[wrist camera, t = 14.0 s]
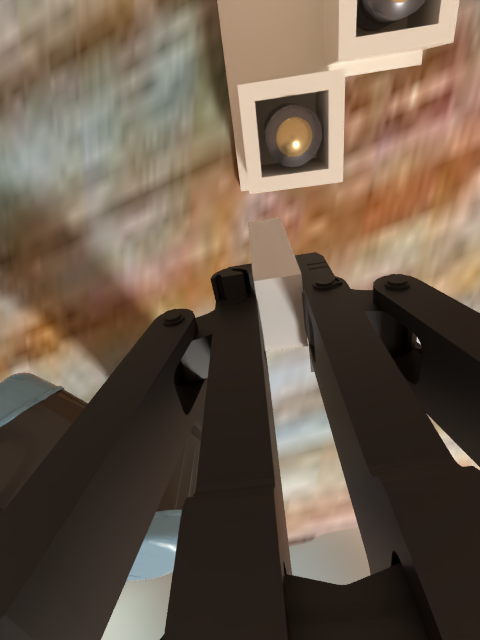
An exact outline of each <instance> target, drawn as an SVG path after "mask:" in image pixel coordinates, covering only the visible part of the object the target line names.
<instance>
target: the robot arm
mask: <svg viewBox="0 0 480 640" xmlns="http://www.w3.org/2000/svg"><path fill="white" fill-rule="evenodd" d="M248 227H249V239H250V251H251V262H252V264H246V265H240V266H234V267H229V268H227V269H223V270H221V271H219V272H217V273H215V274H214V275H213V276H212V277H211V283H212V287H213V291H214V295H215V300H216V306H215V310H214V311H212V312H210V313H208V314H206V315H203V316H200V317H197V318H195V315H194V313H193V311H191V310H188V309H173V310H171V311H170V310H169V311H167V312H165V313H164V314H162V315H160V316H159V317H157V318H156V319H155V320H154V321H153V323H152V324H151V325H150V326H149V328H148V329H147V330H146V332H145V333H144V334H143V335H142V337H141V338H140V339H139V340H138V342H137V343H136V344H135V345H134V347H133V348H132V349H131V350H130V352H129V353H128V354H127V355H126V357H125V358H124V359H123V360H122V362H121V363H120V364H119V365H118V367H117V368H116V369H115V371H114V372H113V373H112V374H111V376H110V377H109V378H108V379H107V381H106V382H105V383H104V384H103V386H102V387H101V388H100V389H99V391H98V392H97V393H96V394H95V396H94V397H93V398H92V399H91V401H90V402H89V403H86V402H84V401H83V400H81V399H79V398H77V397H76V396H74V395H72V394H70V393H69V392H67V391H65V390H64V388H63V387H62V386H56V385H54V384H52V383H50V382H48V381H45V380H43V379H41V378H39V377H37V376H35V375H33V374H30V373H18V374H14V375H12V376H10V377H8V378H6V379H5V380H4V381H2V382H1V383H0V640H101V638H102V636H103V633H104V631H105V629H106V626H107V624H108V622H109V619H110V617H111V615H112V612H113V610H114V608H115V605H116V603H117V600H118V599H119V596H120V594H121V592H122V589H123V587H124V585H125V582H126V581H137V580H146V579H152V578H157V577H160V576H164V575H167V574H169V573H172V572H173V576H172V583H171V591H170V597H169V605H168V612H167V619H166V627H165V634H164V635H163V636H162V638H161V639H160V640H480V470H478V469H477V468H475V467H474V466H467V467H462V466H460V465H459V464H457V462H456V461H455V460H454V458H453V457H452V455H451V454H450V452H449V450H448V449H447V447H446V445H445V444H444V442H443V440H442V439H441V437H440V435H439V434H438V432H437V431H436V429H435V427H434V426H433V424H432V422H431V421H430V419H429V417H428V416H427V414H428V415H429V416H430V417H431V418H432V419H433V420H434V421H435V422H436V423H437V424H438V425H439V426H440V427H441V429H442V430H443V431H444V432H445V433H446V434H447V435H448V436H449V437H450V438H451V439H452V440H453V441H454V442H455V443H456V444H457V445H458V446H459V447H460V448H461V449H462V450H463V451H464V452H465V453H466V454H467V455H468V456H469V457H470V458H471V459H472V460H473V461H474V462H475V463H476V464H477V465H478V466H479V467H480V313H478V312H476V311H475V310H473V309H471V308H469V307H467V306H466V305H464V304H462V303H460V302H458V301H456V300H455V299H453V298H451V297H449V296H447V295H446V294H444V293H442V292H440V291H438V290H437V289H435V288H433V287H431V286H429V285H428V284H426V283H424V282H422V281H420V280H418V279H417V278H414V277H411V276H406V275H403V274H397V275H396V274H391V275H388V276H383V277H381V278H378V279H377V280H376V281H375V282H374V284H373V290H354V289H350V288H349V286H348V284H347V283H346V281H345V280H343V279H342V278H339V277H336V276H334V274H333V273H332V271H331V269H330V267H329V266H328V264H327V262H326V260H325V258H324V257H323V256H322V255H320V254H318V253H316V252H314V253H308V254H302V255H296V256H294V253H293V250H292V248H291V245H290V242H289V240H288V237H287V234H286V232H285V229H284V226H283V224H282V221H281V219H280V217H278V218H272V219H266V220H261V221H255V222H249V223H248ZM417 337H418V339H419V341H420V343H421V345H420V344H419V343H417V342H416V340H417ZM307 338H308V341H309V352H310V363H311V372H315V375H316V378H317V382H318V385H319V389H320V392H321V396H322V399H323V403H324V406H325V410H326V413H327V417H328V420H329V424H330V428H331V431H332V435H333V438H334V442H335V445H336V449H337V452H338V456H339V459H340V463H341V466H342V470H343V473H344V477H345V480H346V484H347V487H348V491H349V494H350V498H351V502H352V505H353V509H354V512H355V516H356V519H357V523H358V526H359V529H360V533H361V537H362V540H363V544H364V547H365V551H366V554H367V559H368V562H369V567H370V573H371V575H370V576H368V577H365V578H363V579H361V580H358V581H356V582H353V583H351V584H348V585H336V584H332V583H327V582H322V581H317V580H312V579H307V578H302V577H298V576H293V575H292V570H291V563H290V553H289V545H288V536H287V528H286V519H285V511H284V502H283V494H282V485H281V477H280V468H279V459H278V451H277V442H276V434H275V425H274V417H273V408H272V400H271V391H270V383H269V374H268V366H267V358H266V352H268V351H275V350H282V349H289V348H296V347H303V346H308V342H307ZM426 413H427V414H426Z"/></svg>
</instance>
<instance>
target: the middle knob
mask: <svg viewBox="0 0 480 640" xmlns="http://www.w3.org/2000/svg"><path fill="white" fill-rule="evenodd" d="M425 2H426V0H357V17H356V25H357V26H358V27H359V28H360V29H362V30H365V31H377V30H380V29H382V28H384V27H386V26H388V25H390V24H392V23H394V22H396V21H398V20H400V19H402V18H405V17H407V16H409V15H410V14H412V13H414V12H415V11H417V10H418V9H419V8H420V7H421V6H422V5H423V4H424V3H425Z"/></svg>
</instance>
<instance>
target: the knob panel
mask: <svg viewBox="0 0 480 640" xmlns="http://www.w3.org/2000/svg"><path fill="white" fill-rule="evenodd" d="M217 4H218V12H219V20H220V28H221V36H222V44H223V51H224V59H225V67H226V75H227V83H228V91H229V99H230V107H231V115H232V123H233V131H234V139H235V147H236V155H237V163H238V171H239V179H240V186H241V191H247V190H249V193H250V194H253V193H261V192H269V191H276V190H284V189H292V188H299V187H307V186H314V185H322V184H330V183H337V182H343V150H344V101H345V76H352V75H358V74H364V73H371V72H377V71H384V70H390V69H396V68H403V67H409V66H415V65H421V62H422V53H423V50H424V49H428V48H432V47H436V46H440V45H445V44H449V43H453V40H454V33H455V27H456V20H457V13H458V6H459V0H426V2H425V3H424V4H423V5H422V6H421V7H420V8H419V9H418V10H417V11H415V12H414V13H412V14H410V15H409V16H407V17H405V18H402V19H400V20H398V21H396V22H394V23H392V24H390V25H388V26H386V27H384V28H382V29H380V30H377V31H365V30H362V29H360V28H359V27H358V26H357V25H356V17H357V0H217ZM284 103H294V104H298V105H302V106H305V107H308V108H309V109H311V110H312V111H313V112H314V113H315V114H316V115H317V117H318V118H319V121H320V123H321V127H322V140H321V144H320V147H319V149H318V151H317V153H316V154H315V155H314V157H313V158H312V159H311V160H310V161H308V162H307V163H305V164H303V165H301V166H297V167H287V166H283V165H281V164H279V163H278V162H276V161H275V160H274V159H273V157H272V156H271V155H270V153H269V151H268V148H267V145H266V142H265V138H264V124H265V121H266V118H267V116H268V115H269V113H270V112H271V111H272V110H273V109H274V108H275V107H277V106H279V105H281V104H284Z"/></svg>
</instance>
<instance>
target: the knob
mask: <svg viewBox="0 0 480 640" xmlns="http://www.w3.org/2000/svg"><path fill="white" fill-rule="evenodd" d="M264 138H265V142H266V145H267V148H268V151H269V153H270V155H271V156H272V157H273V159H274V160H275V161H276V162H278V163H279V164H281V165H283V166H287V167H297V166H301V165H303V164H305V163H307V162H308V161H310V160H311V159H312V158H313V157H314V155H315V154H316V153H317V151H318V149H319V147H320V144H321V140H322V127H321V123H320V121H319V118H318V117H317V115H316V114H315V113H314V112H313V111H312V110H311V109H309V108H308V107H305V106H302V105H298V104H294V103H284V104H281V105H279V106H277V107H275V108H274V109H273V110H272V111H271V112H270V113H269V115H268V116H267V118H266V121H265V124H264Z"/></svg>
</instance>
